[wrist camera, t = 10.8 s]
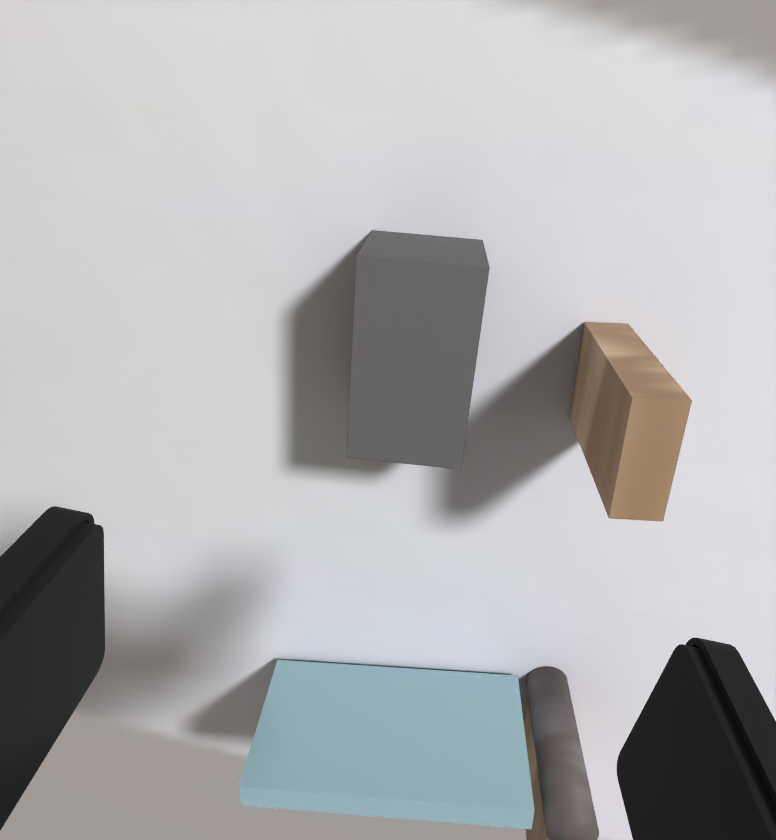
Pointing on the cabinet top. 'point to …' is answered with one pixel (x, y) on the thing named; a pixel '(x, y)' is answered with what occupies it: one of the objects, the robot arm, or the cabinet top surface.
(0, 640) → the robot arm
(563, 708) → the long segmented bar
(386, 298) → the charcoal brick
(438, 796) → the door
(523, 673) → the cabinet top surface
